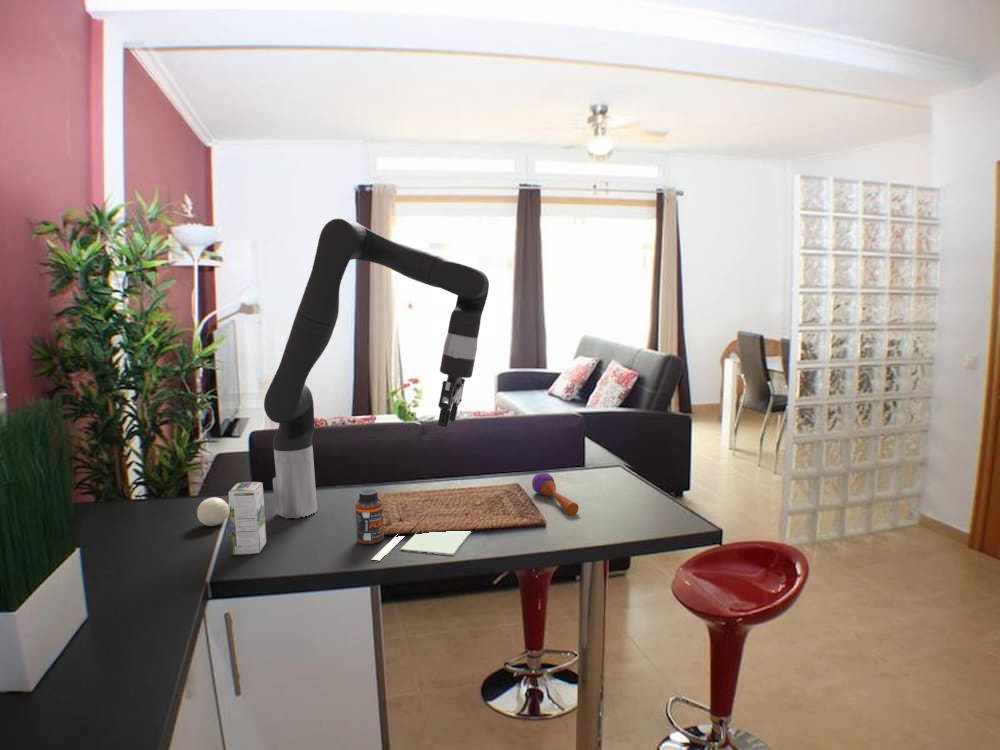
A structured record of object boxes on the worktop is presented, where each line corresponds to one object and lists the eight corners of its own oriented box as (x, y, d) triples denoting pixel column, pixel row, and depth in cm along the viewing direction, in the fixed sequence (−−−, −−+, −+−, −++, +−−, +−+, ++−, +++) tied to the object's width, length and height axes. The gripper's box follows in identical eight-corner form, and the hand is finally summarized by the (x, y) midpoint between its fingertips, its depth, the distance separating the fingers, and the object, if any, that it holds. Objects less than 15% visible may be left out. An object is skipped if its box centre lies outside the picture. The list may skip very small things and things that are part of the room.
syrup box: (241, 544, 147) (235, 482, 145) (268, 543, 147) (262, 480, 145) (232, 555, 141) (226, 490, 139) (261, 553, 142) (255, 489, 139)
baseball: (236, 520, 162) (234, 494, 161) (215, 531, 155) (212, 504, 154) (214, 517, 164) (212, 492, 163) (192, 528, 157) (189, 501, 156)
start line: (371, 560, 137) (371, 559, 137) (412, 521, 158) (412, 520, 158) (380, 561, 136) (380, 560, 136) (420, 522, 157) (420, 521, 157)
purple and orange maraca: (559, 502, 157) (526, 473, 176) (563, 524, 159) (530, 493, 177) (581, 494, 159) (546, 466, 177) (584, 516, 161) (550, 486, 179)
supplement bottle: (372, 547, 144) (369, 497, 142) (351, 542, 146) (348, 494, 145) (389, 537, 149) (387, 489, 147) (369, 533, 152) (366, 485, 150)
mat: (400, 550, 141) (400, 548, 141) (427, 522, 157) (427, 521, 157) (453, 555, 138) (453, 553, 138) (475, 526, 153) (475, 525, 153)
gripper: (449, 350, 158) (437, 416, 160) (436, 353, 144) (423, 424, 146) (479, 356, 157) (467, 422, 159) (469, 359, 143) (456, 431, 145)
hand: (446, 423), depth 152 cm, fingers open, 8 cm apart
